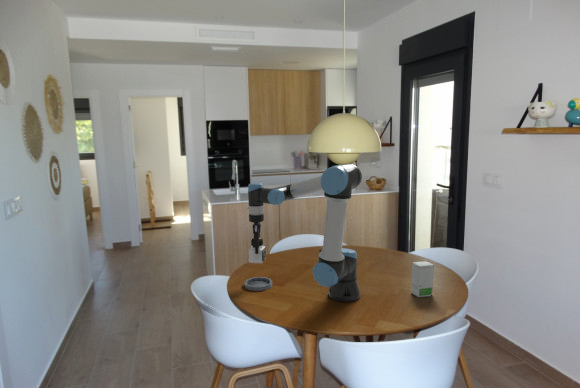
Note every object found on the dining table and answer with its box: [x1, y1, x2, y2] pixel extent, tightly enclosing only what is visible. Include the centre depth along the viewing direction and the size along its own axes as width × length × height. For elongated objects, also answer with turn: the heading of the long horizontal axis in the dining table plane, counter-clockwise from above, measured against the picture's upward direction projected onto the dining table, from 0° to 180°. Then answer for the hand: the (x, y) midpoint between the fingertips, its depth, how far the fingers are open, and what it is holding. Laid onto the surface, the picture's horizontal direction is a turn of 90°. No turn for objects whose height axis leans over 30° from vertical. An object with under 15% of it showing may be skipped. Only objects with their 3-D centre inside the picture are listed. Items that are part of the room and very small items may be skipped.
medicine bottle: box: [248, 237, 267, 264], centre depth 206 cm, size 7×7×12 cm
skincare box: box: [410, 261, 435, 298], centre depth 194 cm, size 8×7×16 cm
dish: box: [244, 276, 273, 292], centre depth 209 cm, size 14×14×2 cm
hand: (257, 256), depth 207 cm, fingers closed on medicine bottle, 8 cm apart
